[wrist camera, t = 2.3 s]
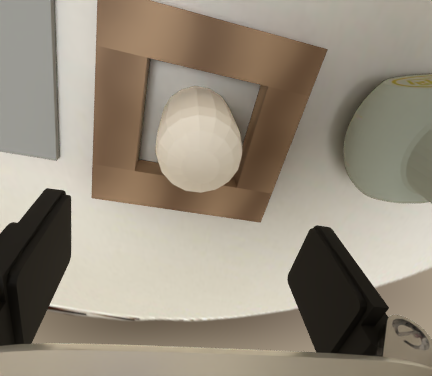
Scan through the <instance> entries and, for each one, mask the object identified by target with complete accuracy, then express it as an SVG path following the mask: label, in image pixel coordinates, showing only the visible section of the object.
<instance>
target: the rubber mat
mask: <svg viewBox="0 0 432 376" xmlns="http://www.w3.org/2000/svg"><path fill="white" fill-rule="evenodd" d="M0 152H6V153H12V154H19V155H25V156H31V157H37V158H43V159H49V160H55V161H57V160H58V158H59V130H58V99H57V68H56V37H55V6H54V0H0Z"/></svg>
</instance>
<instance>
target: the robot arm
mask: <svg viewBox="0 0 432 376" xmlns="http://www.w3.org/2000/svg"><path fill="white" fill-rule="evenodd" d="M70 258H71V196H69V195H66V193H65V191H63V190H56V189H49V188H47V189H45V190H44V191H43V193H42V194H41V195H40V196H39V198H38V199H37V200H36V201H35V203H34V204H33V205H32V206H31V207H30V209H29V210H28V211H27V212H26V214H25V215H24V216H23V217H22V219H21V220H20V221H19V222H18V223H14V222H13V223H10V224H9V225H7V226H6V228H5V229H4V230H3V231H2V232H1V233H0V376H432V339H431V338H430V336H429V335H428V334H427V333H426V331H425V330H424V329H422V328H421V327H420V326H419V325H418V324H416V323H415V322H413V321H412V320H410V319H408V318H406V317H404V316H400V315H391V316H389V317H388V316H387V315H386V313H385V312H386V311H387V310H388V308H389V307H388V306H387V305H386V303H385V302H384V300H383V299H382V298H381V296H380V295H379V294H378V292H377V291H376V289H375V288H374V287H373V285H372V284H371V282H370V281H369V280H368V278H367V277H366V276H365V274H364V273H363V271H362V270H361V269H360V267H359V266H358V265H357V263H356V262H355V260H354V259H353V258H352V256H351V255H350V253H349V252H348V251H347V249H346V248H345V247H344V245H343V244H342V242H341V241H340V240H339V238H338V237H337V236H336V234H335V233H334V231H333V230H332V229H331V228H330V227H324V226H315V227H314V228H312V229H310V230H309V232H308V234H307V236H306V238H305V241H304V243H303V245H302V247H301V249H300V251H299V253H298V255H297V257H296V259H295V261H294V264H293V266H292V268H291V270H290V272H289V274H288V284H289V286H290V289H291V291H292V294H293V296H294V299H295V301H296V304H297V306H298V308H299V311H300V313H301V316H302V318H303V321H304V323H305V326H306V328H307V330H308V333H309V335H310V338H311V340H312V343H313V345H314V347H315V350H316V353H315V352H294V351H271V350H248V349H224V348H197V347H171V346H143V345H114V344H65V343H63V344H62V343H61V344H60V343H42V344H31V343H32V341H33V339H34V337H35V335H36V332H37V330H38V328H39V326H40V324H41V322H42V320H43V318H44V315H45V313H46V311H47V309H48V307H49V305H50V303H51V300H52V298H53V296H54V294H55V292H56V290H57V288H58V285H59V283H60V281H61V279H62V277H63V275H64V272H65V270H66V268H67V266H68V264H69V261H70Z"/></svg>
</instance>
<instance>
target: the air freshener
mask: <svg viewBox="0 0 432 376" xmlns="http://www.w3.org/2000/svg"><path fill="white" fill-rule="evenodd" d="M343 157H344V162H345V168H346V170H347V173H348V175H349V177H350V179H351V181H352V182H353V183H354V185H355V186H356V187H357V188H358V189H359V190H360V191H361V192H362V193H363V194H365V195H367V196H369V197H371V198H374V199H378V200H382V201H387V202H394V203H426V202H431V203H432V74H422V75H409V76H401V77H395V78H390V79H387V80H385V81H383V82H382V83H381V84H380V85H379V86H377V87H376V88H375V89H374V90H373V91H372V92H371V93H370V94H369V95H368V96H367V97H366V98H365V100H364V101H363V102H362V103H361V105H360V106H359V108H358V109H357V110H356V112H355V114H354V116H353V118H352V120H351V122H350V124H349V126H348V129H347V132H346V135H345V141H344V154H343Z"/></svg>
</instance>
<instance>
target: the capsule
mask: <svg viewBox="0 0 432 376" xmlns="http://www.w3.org/2000/svg"><path fill="white" fill-rule="evenodd" d="M155 152H156V156H157V159H158V162H159V165H160V168H161V171H162V173H163V174H164V175H165V176H166V178H167V179H168V180H169V181H170V182H171V183H172V184H173V185H175V186H177V187H179V188H181V189H183V190H185V191H192V192H199V193H202V192H207V191H211V190H216V189H218V188H219V187H221V186H223V185H224V184H226V183H227V182H229V181H230V180H231V178H232V177H233V176H234V174H235V173H236V172H237V170H238V168H239V164H240V161H241V157H242V142H241V136H240V132H239V129H238V127H237V125H236V122H235V120H234V118H233V116H232V113H231V111H230V109H229V107H228V106H227V104H226V102H225V101H224V99H223V98H222V96H220V95H219V94H217V93H216V92H214V91H213V90H211V89H209V88H204V87H199V86H194V87H189V88H185V89H181V90H180V91H179V92H177V93H176V94H174V95H173V96H172V97H170V99H169V101H168V102H167V104H166V106H165V108H164V109H163V113H162V117H161V121H160V125H159V129H158V133H157V139H156V148H155Z"/></svg>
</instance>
